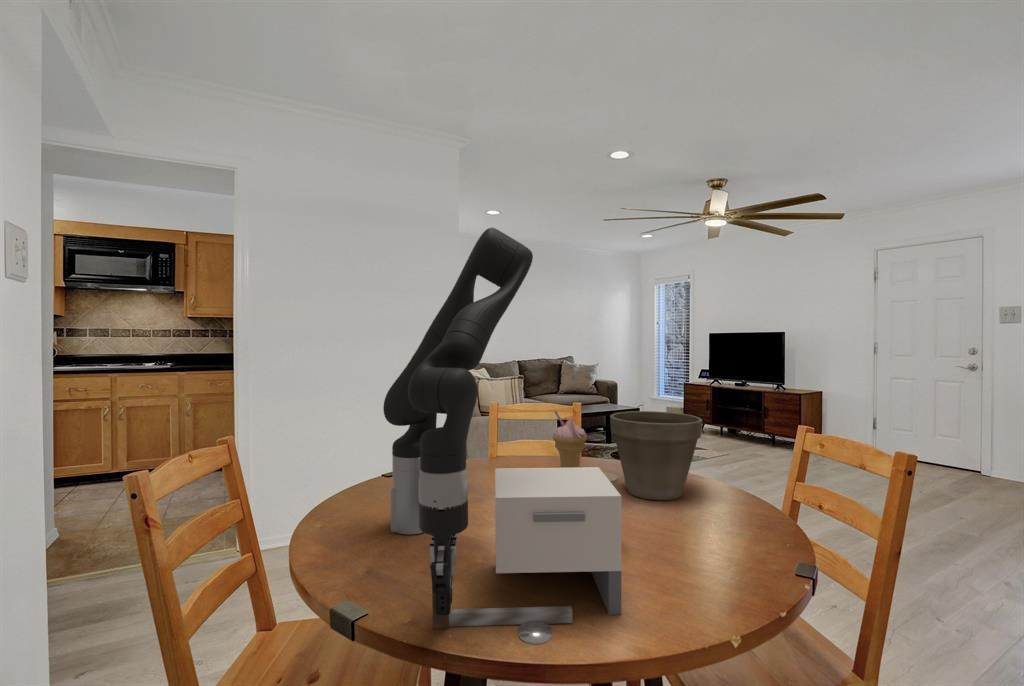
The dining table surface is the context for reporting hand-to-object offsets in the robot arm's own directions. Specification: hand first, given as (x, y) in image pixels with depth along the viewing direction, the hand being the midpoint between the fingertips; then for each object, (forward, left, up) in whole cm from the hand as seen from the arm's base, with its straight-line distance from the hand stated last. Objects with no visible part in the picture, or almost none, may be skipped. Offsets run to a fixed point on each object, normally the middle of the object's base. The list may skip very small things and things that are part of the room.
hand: (444, 608), depth 81 cm
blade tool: (+9, 0, -2) cm, 9 cm away
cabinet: (+18, +11, -3) cm, 21 cm away
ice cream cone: (+32, +86, -3) cm, 92 cm away
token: (+14, -3, -3) cm, 14 cm away
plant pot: (+53, +65, -3) cm, 84 cm away
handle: (+31, +28, -3) cm, 42 cm away
